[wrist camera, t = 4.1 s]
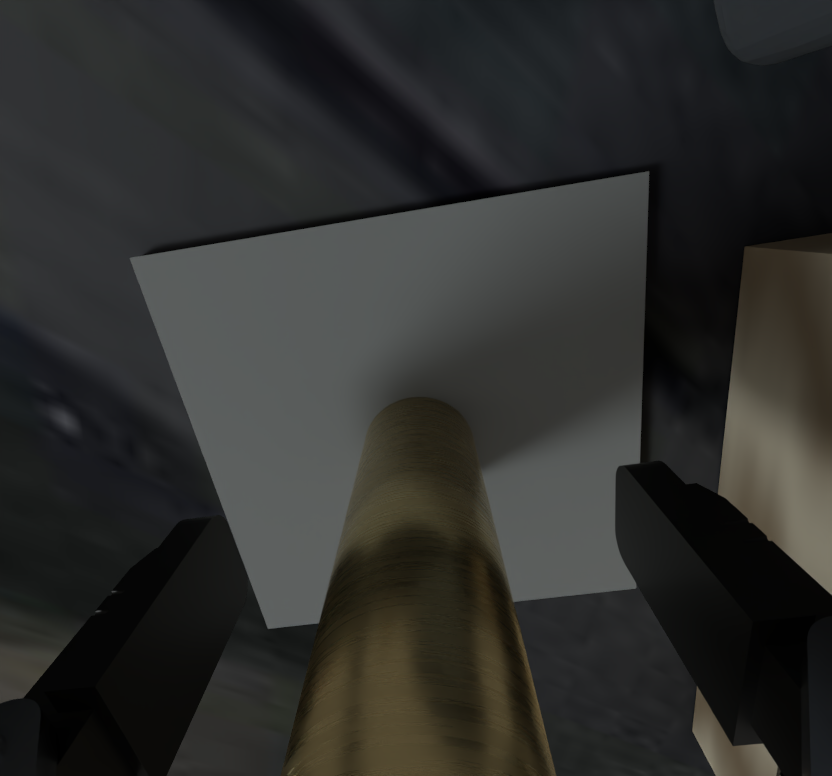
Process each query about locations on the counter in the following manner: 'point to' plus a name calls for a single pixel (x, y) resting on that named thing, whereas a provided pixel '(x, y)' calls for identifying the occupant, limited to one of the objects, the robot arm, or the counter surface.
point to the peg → (418, 621)
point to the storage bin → (774, 28)
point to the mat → (418, 373)
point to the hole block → (779, 432)
